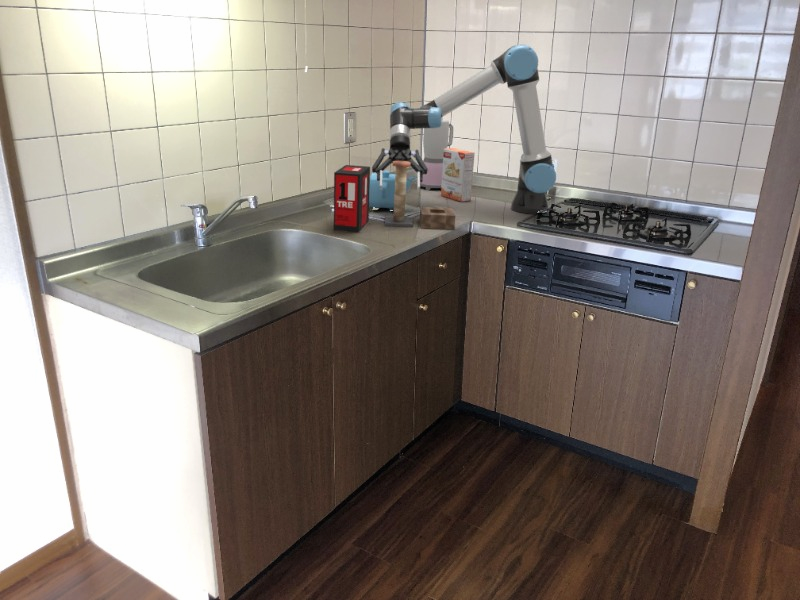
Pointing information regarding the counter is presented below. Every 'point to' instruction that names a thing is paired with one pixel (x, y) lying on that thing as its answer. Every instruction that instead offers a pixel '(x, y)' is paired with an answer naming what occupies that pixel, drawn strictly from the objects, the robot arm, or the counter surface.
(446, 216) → the eye block
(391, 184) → the teakettle
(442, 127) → the blender
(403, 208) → the wheel peg
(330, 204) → the counter surface
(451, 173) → the cracker box
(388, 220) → the rubber mat
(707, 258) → the counter surface
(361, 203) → the cleaning product box
